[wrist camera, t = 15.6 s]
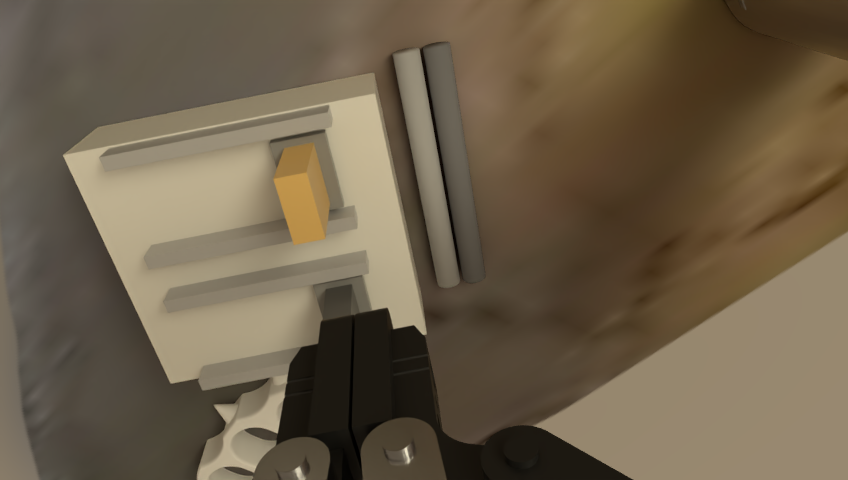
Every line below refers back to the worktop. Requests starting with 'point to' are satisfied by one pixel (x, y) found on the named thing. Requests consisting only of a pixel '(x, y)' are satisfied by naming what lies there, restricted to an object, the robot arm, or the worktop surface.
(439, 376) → the worktop surface
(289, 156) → the breaker toggle
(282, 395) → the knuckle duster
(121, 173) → the breaker housing
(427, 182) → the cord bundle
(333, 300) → the toggle
